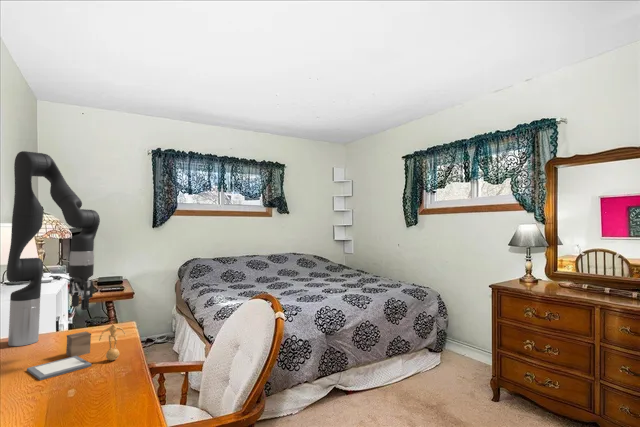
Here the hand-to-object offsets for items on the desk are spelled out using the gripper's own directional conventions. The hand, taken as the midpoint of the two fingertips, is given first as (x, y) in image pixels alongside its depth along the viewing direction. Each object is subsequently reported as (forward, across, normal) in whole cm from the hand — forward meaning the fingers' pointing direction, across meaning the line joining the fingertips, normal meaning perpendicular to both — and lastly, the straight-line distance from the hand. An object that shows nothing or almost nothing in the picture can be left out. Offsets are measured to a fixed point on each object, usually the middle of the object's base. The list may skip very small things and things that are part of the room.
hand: (79, 308), depth 130 cm
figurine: (+17, +15, +5) cm, 23 cm away
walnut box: (+17, 0, 0) cm, 17 cm away
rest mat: (+17, +10, -9) cm, 21 cm away
